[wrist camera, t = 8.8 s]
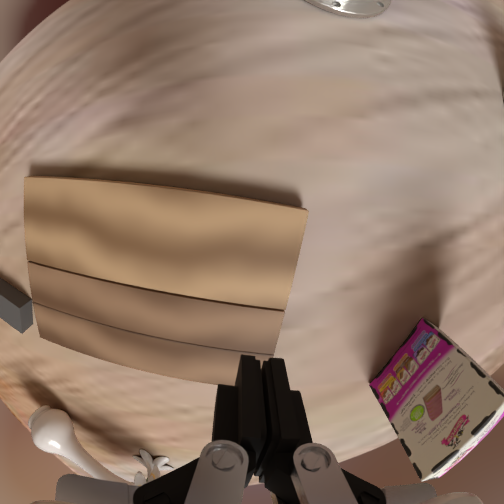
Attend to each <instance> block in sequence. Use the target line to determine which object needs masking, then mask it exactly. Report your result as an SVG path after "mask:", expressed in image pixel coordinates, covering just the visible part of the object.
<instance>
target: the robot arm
mask: <svg viewBox="0 0 504 504" xmlns="http://www.w3.org/2000/svg"><path fill="white" fill-rule="evenodd" d="M305 1H307V2H309V3H311V4H312V5H314V6H316V7H319V8H321V9H323V10H326V11H329V12H332V13H335V14H338V15H342V16H347V17H354V18H370V17H375V16H377V15H379V14H382V13H383V12H384V11H385V10H386V9H387V8H388V6H389V5H390V3H391V0H305ZM253 473H254V476H259V483H265V488H267V489H268V490H270V492H271V498H272V502H273V504H483V502H482V501H481V500H480V499H479V498H478V497H477V496H476V495H474V494H471V493H464V492H457V493H449V494H445V495H441V496H437V494H436V491H435V489H434V487H433V486H432V485H430V484H428V483H419V484H411V485H400V486H386V487H384V488H382V489H380V488H378V487H377V486H374V485H372V484H370V483H368V482H366V481H364V480H362V479H360V478H358V477H356V476H354V475H353V474H351V473H349V472H347V471H345V470H343V469H342V468H340V466H339V464H338V462H337V460H336V458H335V456H334V454H333V453H332V451H331V450H330V449H329V448H327V447H326V446H324V445H322V444H317V443H313V442H312V438H311V434H310V430H309V426H308V421H307V417H306V413H305V409H304V405H303V401H302V397H301V393H300V392H299V391H294V390H290V386H289V382H288V377H287V372H286V367H285V362H284V359H282V358H269V359H268V361H265V360H264V361H263V364H262V368H261V363H260V360H256V358H255V356H251V355H243V354H241V357H240V361H239V366H238V371H237V376H236V381H235V386H232V385H224V384H218V388H217V395H216V402H215V411H214V421H213V432H212V442H211V443H208V444H207V445H206V446H205V447H204V448H203V450H202V452H201V455H200V457H199V458H197V459H195V460H193V461H191V462H190V463H188V464H186V465H184V466H182V467H180V468H178V469H176V470H174V471H172V472H170V473H168V474H166V475H164V476H161V477H159V478H157V479H155V480H153V481H150V482H148V483H146V484H143V485H142V486H134V485H128V484H127V483H121V482H114V481H107V480H101V479H95V478H90V477H85V476H80V475H76V474H67V475H63V476H62V477H61V478H59V480H58V482H57V486H56V497H55V501H54V500H40V501H35V502H33V503H31V504H241V502H242V497H243V491H244V488H246V487H247V486H248V484H249V482H250V480H251V477H252V475H253Z"/></svg>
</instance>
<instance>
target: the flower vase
mask: <svg viewBox="0 0 504 504" xmlns="http://www.w3.org/2000/svg"><path fill="white" fill-rule="evenodd" d="M28 426H29V428H30V429H31V435H32V439H33V442H34V444H35V445H36V446H37V447H38V448H40V449H41V450H43V451H45V452H49V453H53V454H58V455H61V456H63V457H65V458H67V459H69V460H71V461H72V462H74V463H75V464H77V465H78V466H80V467H81V468H82V469H84V470H85V471H86V472H87V473H89V474H90V475H91V476H93V477H94V478H96V479H101V480H107V481H114V482H121V483H127V484H128V485H134V486H142V485H143V484H146V483H148V482H150V481H153V480H155V479H157V478H159V477H160V471H159V470H173V468H172V467H170V466H163V465H164V464H166V463H167V462H168V461H169V458H168V457H158V458H156V459H154V461H153V460H152V457H151V455H150V454H149V453H148V452H146V451H145V450H142V449H140V450H139V452H140V454H141V456H142V458H143V459H142V458H140V457H137V456H133V458H134V459H136V460H137V461H139V462H140V463H141V464H143V465H144V466H145V467H146V468H147V472H148V478H147V479H145V477H144V475H143V474H142V473H141V472H140V471H138V472H137V474H136V475H135V479H134V483H133V482H128V481H126V480H124V479H122V478H120V477H118V476H117V475H115V474H113V473H112V472H110V471H109V470H108V469H106V468H105V467H104V466H103V465H101V464H100V463H99V462H98V461H97V460H95V459H94V458H93V457H92V456H91V455H90V454H89V453H88V452H87V451H86V450H85V449H84V448H83V447H82V446H81V444H80V443H79V441H78V439H77V437H76V435H75V431H74V426H73V423H72V420H71V418H70V417H69V415H68V414H67V413H66V412H64V411H62V410H59V409H51V408H50V406H48V405H44V406H42V407H40V408H38V409H37V410H36V411H35V412H34V413H33V414H32V415H31V417H30V418H29V421H28Z"/></svg>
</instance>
